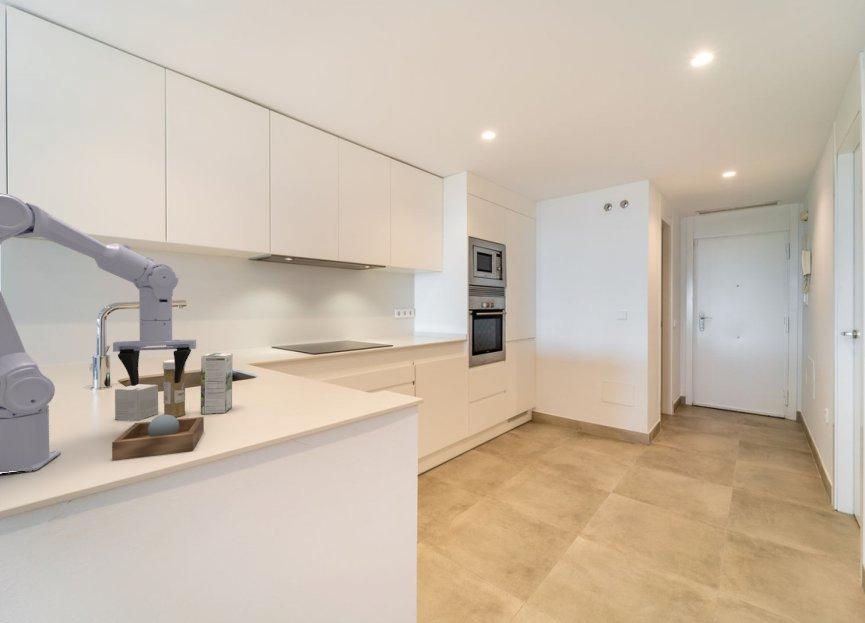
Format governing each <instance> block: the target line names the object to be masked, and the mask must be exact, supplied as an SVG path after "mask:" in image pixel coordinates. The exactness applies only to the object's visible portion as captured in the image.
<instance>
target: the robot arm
mask: <svg viewBox="0 0 865 623" xmlns="http://www.w3.org/2000/svg"><path fill="white" fill-rule="evenodd" d="M13 237H14V238H15V237H16V238H17V237H19V238H20V237H21V238H25V237H26V238H43V239H45V240H48V241H51V242H54V243H55V244H58V245H61V246H63V247H65V248H67V249H70V250H72V251H75V252H77V253H79V254H83V255H84V256H87V257H90V258H91V259H94V261H95V263H96V265H97V267H98V268H99V269H100V270H102V271H105V272H107V273H109V274H112V275H114V276H117V277H118V278H121V279H123V280H125V281H126V282H127V281H128V282H130V283H132V284H133V285H134V287H135V288H137V289H138V291H139V298H138V299H139V300H138V301H139V302H138V303H139V307H138V308H139V309H138V310H139V340H129V341H128V340H127V341H126V340H125V341H124V340H123V341H114V342H112V352H115V353H117V352H119V353H118V354H117V357H118V359H119V360H120V362H121V363H122V364H123V367H124V368H125V370H126V372H127V375H128V377H129V380H130V381H129V382H130V386H136V385H137V384H140V383H139V380H140V377H139V363H140V362H139V361H140V353H141V351H159V350H161V351H163V350H165V351H166V350H174V351H173V358H174V359H173V360H174V361H175V377H174V381H175V383H179V382H180V381H181V375H182V371H183V368H184V365H185V366H186V362H187V361H188V359H189V356H190V354H191V353H192V350H195V349H197V339H173V295H174V294H173V291H174V289H175V288H176V287H177V286H178V284H179V283H178V282H179V277H177V276H176V273H175V271H174V270H173V268H172V267H170V266H169V265H166V264H162V263H161V264H159V263H158V264H156V263H155V260H154V258H152V257H145V256H143V255H142V254H139V253H137V252H135V251H133V250H131V249H132V248H131V246H130V245H129V244H126V243H122V244H120V243H117V242H115V243H108V244H106V243H104V242H102V241H100V240H98V239H96V238H95V237H92V236H91V235H89V234H86V233H85V232H83V231H81V230H80V229H78V228H76V227H74V226H72V225H70V224H69V223H67V222H65V221H63V220H61V219H59V218H58V217H56V216H53V215H52V214H50V213H48V212H47V211H45V210H44V209H42V208H41V207H39V206H38V205H35V204H32V203H30V202H25V201H23V200H22V199H20V198H19V197H17V196H15V195H12V194H11V193H10V194H9V193H5V192H0V245H1V244H2V243H3V242H5V241H7V240H9V239H10V238H13ZM161 346H162V347H161ZM55 392H56V389H55V385H54V382H53V381H52V380H51V379H50V378H49V377H47V376H46V375H45V374H43V373H42V372H41V370H40V369H39V366H38V364H37V363H36V361H35V360H33V359H32V358H31V356H30V355H29V354H28V353H27V352H26V349H25V346H24V345H23V342H22V340H21V337H20V335H19V332H18V330H17V328H16V325H15V322H14V320H13V319H12V315H11V313H10V311H9V309H8V305H7V303H6V301H5V299H4V296H3V294H2V292H1V291H0V472H9V471H25V472H33V471H37V470H39V469H40V468H42V467H44V466H45V465H46V464H48V463H49V462H51V461H52V460H54V459H55V458H56V457H58V456H59V455H60V454H61V453H62V451H61V450H56V451H55V450H54V451H50V412H49V411H50V409H49V404H50V403H51V401H52V400H53V398H54V396H55ZM32 470H33V471H32Z"/></svg>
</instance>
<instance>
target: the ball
mask: <svg viewBox="0 0 865 623" xmlns="http://www.w3.org/2000/svg"><path fill="white" fill-rule="evenodd" d="M177 419H178V418H177V417H174V416H172V415H164V414H161V415H158V416H156V417H155V418H153V419H152V420H150V422H151V423H150V424H149V427H148V434H149V436H150V437H154V436H164V435H173V434H177V432H178V430H179V422H178V420H177Z"/></svg>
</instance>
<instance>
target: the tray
mask: <svg viewBox="0 0 865 623" xmlns="http://www.w3.org/2000/svg"><path fill="white" fill-rule="evenodd" d="M176 419H177V420H178V422H179V430H178V432H177V434H173V435H164V436H154V437H150V436H149V434H148V427H149V424H150V423H151V421H143V422H135V423H133V424H132V425H131V426H130V427H128V429H126V430H125V431H124V432H122V433H121V434H120V435H119V436H118V437H117V438H116V439H114V440H113V441H112V443H111V451H112V452H111V454H112V455H111V461H118V460H125V459H135V458H143V457H151V456H161V455H167V454H179V453H185V452H193V451H194V450H195V447H197V444H198V442H199V440H200V439H201V437H202V435H203V433H204V431H205V428H204V424H205V422H204V420H205V417H204V416H196V417H186V418H184V417H183V418H176Z"/></svg>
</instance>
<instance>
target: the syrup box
mask: <svg viewBox="0 0 865 623" xmlns="http://www.w3.org/2000/svg"><path fill="white" fill-rule="evenodd" d="M233 356H234V355H233V353H229V352H212V353H207V354H205V355H202V356H201V361H200V363H201V364H200V415H210V414H211V415H213V414H212V413H216V414H225V413H227V412H228V411H229V410H230V409H232V407H233Z"/></svg>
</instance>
